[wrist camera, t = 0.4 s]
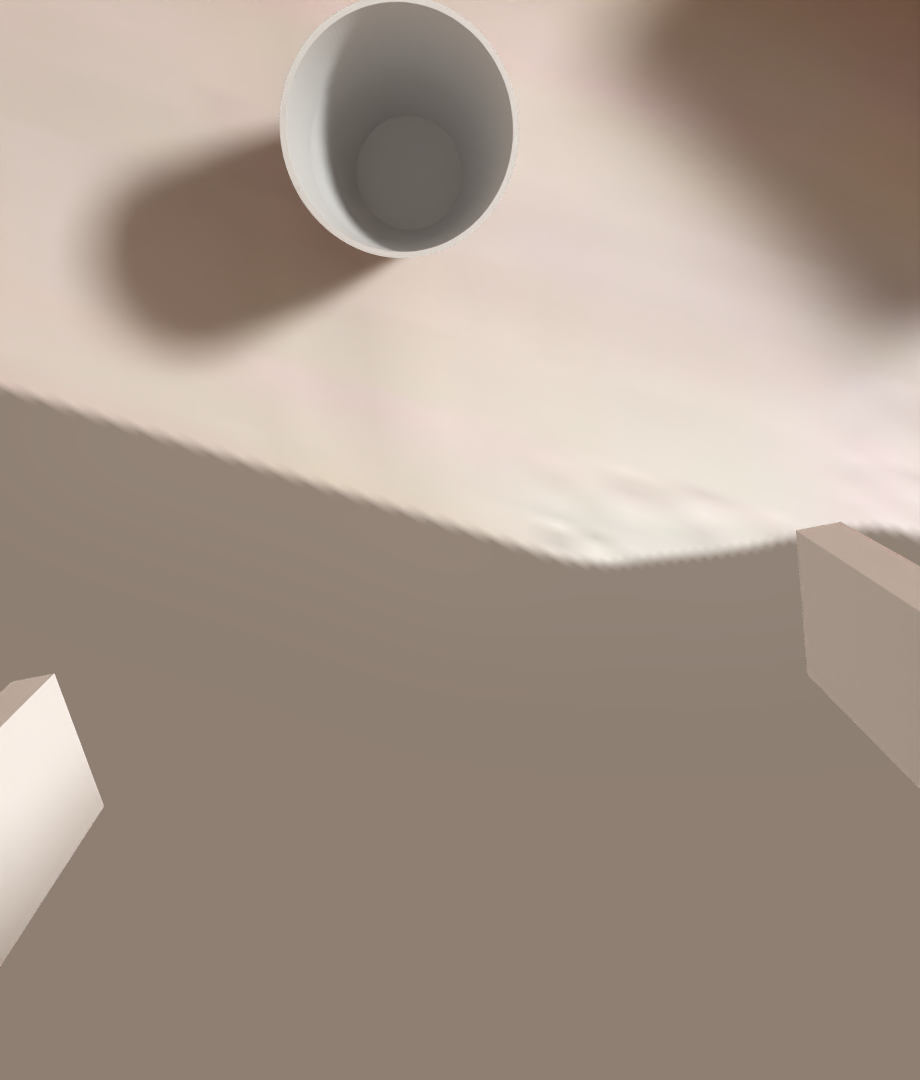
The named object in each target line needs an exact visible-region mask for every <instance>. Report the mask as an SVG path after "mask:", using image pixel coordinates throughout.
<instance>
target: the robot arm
mask: <svg viewBox="0 0 920 1080" xmlns="http://www.w3.org/2000/svg"><path fill="white" fill-rule="evenodd" d="M796 534H797V547H798V560H799V573H800V586H801V599H802V612H803V625H804V638H805V651H806V664H807V674H808V675H809V676H810V677H811V678H812V679H813V680H814V682H815V683H816V684H818V686H819V687H820V688H822V690H823V691H824V692H825V693H826V694H827V695H828V696H829V697H830V698H831V699H832V700H833V701H834V702H835V703H836V704H837V705H838V706H839V707H840V708H841V709H842V710H843V711H844V712H845V713H846V714H847V715H848V716H849V717H850V718H851V719H852V720H853V721H854V722H855V723H856V724H857V725H858V726H859V727H860V728H861V729H862V730H863V732H864V733H866V734H867V736H868V737H869V738H870V739H871V740H872V741H873V742H874V743H875V744H876V745H877V746H878V747H879V748H880V749H881V750H882V751H883V752H884V753H885V754H886V755H887V756H888V757H889V758H890V759H891V760H892V761H893V762H894V763H895V764H896V765H897V766H898V767H899V768H900V769H901V770H902V771H903V772H904V773H905V774H906V775H907V776H908V777H909V778H910V779H911V780H912V781H913V782H914V784H916V786H917V787H918V788H919V789H920V566H918V565H916V564H914V563H913V562H911V561H909V560H908V559H906V558H904V557H902V556H900V555H899V554H897V553H895V552H893V551H892V550H889V549H888V548H886V547H884V546H883V545H881V544H879V543H877V542H875V541H874V540H872V539H870V538H868V537H867V536H865V535H863V534H861V533H859V532H858V531H856V530H854V529H852V528H851V527H849V526H847V525H845V524H843V523H842V522H838V523H833V524H828V525H822V526H817V527H812V528H807V529H802V530H797V531H796ZM103 807H104V805H103V803H102V800H101V798H100V795H99V792H98V789H97V786H96V784H95V781H94V779H93V776H92V773H91V771H90V768H89V765H88V763H87V760H86V757H85V754H84V752H83V749H82V746H81V744H80V741H79V738H78V736H77V733H76V730H75V728H74V725H73V723H72V720H71V717H70V714H69V712H68V709H67V706H66V704H65V701H64V698H63V696H62V693H61V690H60V688H59V685H58V682H57V679H56V677H55V674H50V675H44V676H39V677H34V678H29V679H23V680H18V681H13V682H11V683H10V684H9V685H8V686H7V687H6V688H5V689H4V690H2V692H0V966H1V964H2V963H3V961H4V960H5V958H6V957H7V955H8V953H9V952H10V950H11V949H12V947H13V946H14V944H15V943H16V941H17V940H18V938H19V937H20V935H21V933H22V932H23V930H24V929H25V927H26V926H27V924H28V923H29V921H30V919H31V918H32V916H33V915H34V913H35V912H36V910H37V909H38V907H39V906H40V904H41V903H42V901H43V900H44V898H45V896H46V895H47V893H48V892H49V890H50V889H51V887H52V886H53V884H54V883H55V881H56V879H57V878H58V876H59V875H60V873H61V871H62V870H63V869H64V867H65V866H66V864H67V862H68V861H69V859H70V858H71V856H72V855H73V853H74V851H75V850H76V848H77V847H78V845H79V844H80V842H81V841H82V839H83V838H84V836H85V835H86V833H87V831H88V830H89V828H90V827H91V825H92V824H93V822H94V821H95V819H96V817H97V816H98V815H99V813H100V811H101V810H102V808H103Z"/></svg>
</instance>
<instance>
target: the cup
mask: <svg viewBox="0 0 920 1080" xmlns="http://www.w3.org/2000/svg"><path fill="white" fill-rule="evenodd" d="M280 140H281V147H282V152H283V157H284V161H285V164H286V168H287V171H288V173H289V176H290V178H291V181H292V183H293V185H294V187H295V189H296V191H297V193H298V195H299V197H300V198H301V200H302V201H303V203H304V204H305V206H306V207H307V209H308V210H309V211H310V212H311V214H312V215H313V216H314V217H315V218H316V219H317V220H318V221H319V222H320V223H321V224H322V225H323V226H324V227H325V228H326V229H327V230H328V231H329V232H331V233H332V234H333V235H335V236H336V237H337V238H339V239H340V240H342V241H344V242H345V243H347V244H349V245H351V246H353V247H355V248H357V249H359V250H362V251H365V252H367V253H371V254H374V255H378V256H383V257H390V258H414V257H421V256H426V255H430V254H434V253H437V252H440V251H442V250H445V249H447V248H449V247H451V246H453V245H455V244H457V243H459V242H460V241H462V240H463V239H465V238H466V237H468V236H469V235H470V234H471V233H473V232H474V231H475V230H476V229H477V228H478V227H479V226H480V225H481V224H482V223H483V222H484V221H485V220H486V219H487V218H488V217H489V216H490V214H491V213H492V212H493V210H494V209H495V207H496V206H497V204H498V203H499V201H500V200H501V198H502V196H503V194H504V192H505V190H506V188H507V186H508V183H509V181H510V178H511V175H512V172H513V169H514V165H515V161H516V156H517V150H518V141H519V119H518V110H517V103H516V98H515V94H514V91H513V87H512V84H511V81H510V78H509V76H508V73H507V71H506V69H505V67H504V65H503V63H502V61H501V59H500V57H499V56H498V54H497V52H496V51H495V50H494V48H493V47H492V45H491V44H490V43H489V41H488V40H487V39H486V38H485V37H484V35H483V34H482V33H481V32H480V31H479V30H478V29H477V28H476V27H475V26H474V25H473V24H471V23H470V22H469V21H468V20H466V19H465V18H464V17H462V16H461V15H459V14H458V13H456V12H455V11H453V10H451V9H450V8H448V7H446V6H444V5H441V4H439V3H436V2H434V1H431V0H362V1H359V2H356V3H354V4H351V5H349V6H347V7H345V8H343V9H342V10H340V11H338V12H337V13H335V14H334V15H332V16H331V17H330V18H328V19H327V20H326V21H325V22H323V23H322V24H321V25H320V26H319V27H318V28H317V29H316V30H315V31H314V32H313V33H312V34H311V36H310V37H309V38H308V39H307V41H306V42H305V43H304V45H303V46H302V48H301V49H300V51H299V53H298V54H297V56H296V58H295V60H294V62H293V64H292V66H291V68H290V71H289V73H288V76H287V79H286V82H285V86H284V90H283V94H282V99H281V106H280Z"/></svg>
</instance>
